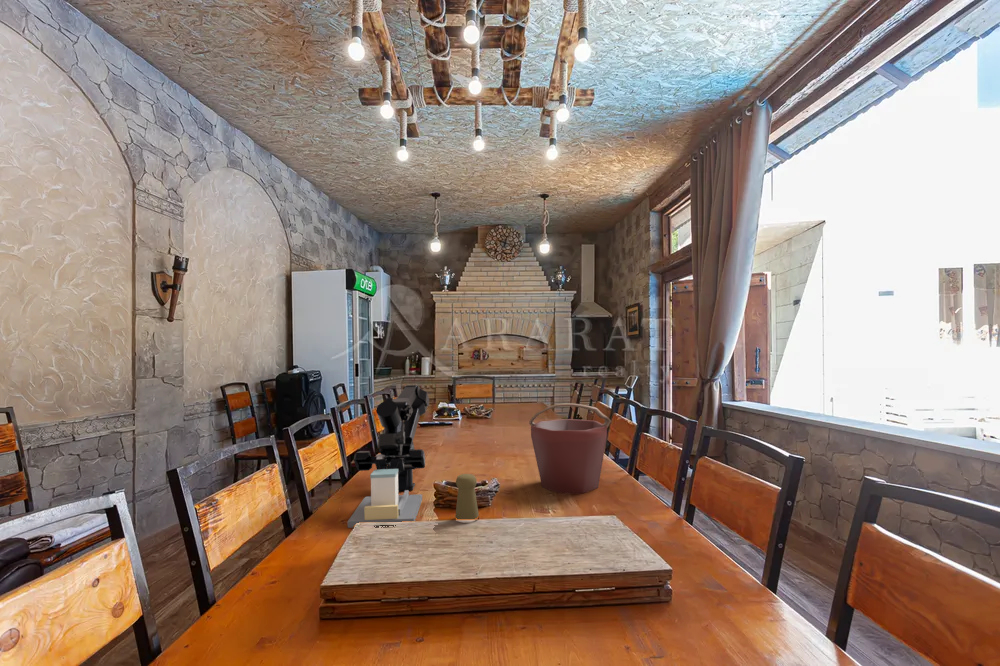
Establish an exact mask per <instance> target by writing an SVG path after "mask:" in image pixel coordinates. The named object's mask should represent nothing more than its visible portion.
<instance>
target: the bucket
mask: <svg viewBox="0 0 1000 666" xmlns="http://www.w3.org/2000/svg"><path fill="white" fill-rule="evenodd" d="M558 407H560V408H561V407H574V408H580V409H585V410H588V411H593V412H594V413H595V414H596V416H598V417H599V418H600V419H603V420H604V423H601V422H600V421H598V420H589V419H588V420H587V419H575V418H561V419H550V420H541V421H540V420H539V421H538V422H534V421H535V420H536V419H537V417H538V416H539V415H541V414H543V413H545V412H547V411H549V410H553V409H555V408H558ZM611 423H612V420H611V419H610V417H608V416H607V415H605V414H604V413H603V412H602V411H600V409H599V408H597V407H595V406H590V405H585V404H580V403H556V404H553V405H550V406H547V407H546V408H544V409H542V410H540V411H538V412H536V413H535V414H534V415H533V416H532V417H531V419H530V420H529V425H530V438H531V443H532V446H533V450H534V456H535V460H536V465H537V469H538V470H537V471H538V473H539V474H538V475H539V478H540V483H541V488H543V489H545V490H548V491H550V492H553V493H555V494H585V493H589V492H591V491H593V490H595V489H598V488H599V485H600V479H601V474H602V467H603V462H604V457H605V450H606V449H605V448H606V442H607V437H608V433H607V432H608V428H609V426H610V425H611Z"/></svg>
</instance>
